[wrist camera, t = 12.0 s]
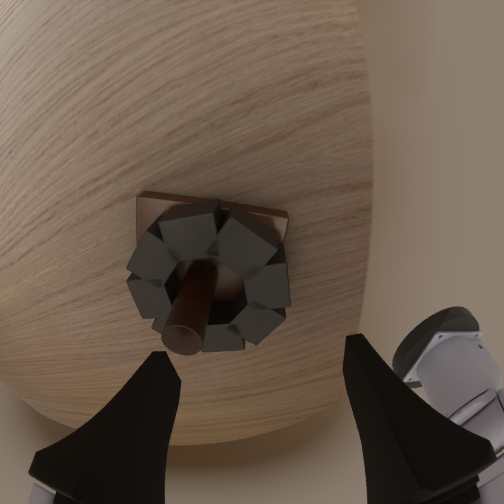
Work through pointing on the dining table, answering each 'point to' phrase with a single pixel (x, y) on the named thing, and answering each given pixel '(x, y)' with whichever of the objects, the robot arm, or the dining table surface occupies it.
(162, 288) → the ring
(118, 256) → the dining table surface
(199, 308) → the peg stand
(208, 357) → the dining table surface
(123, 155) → the dining table surface
